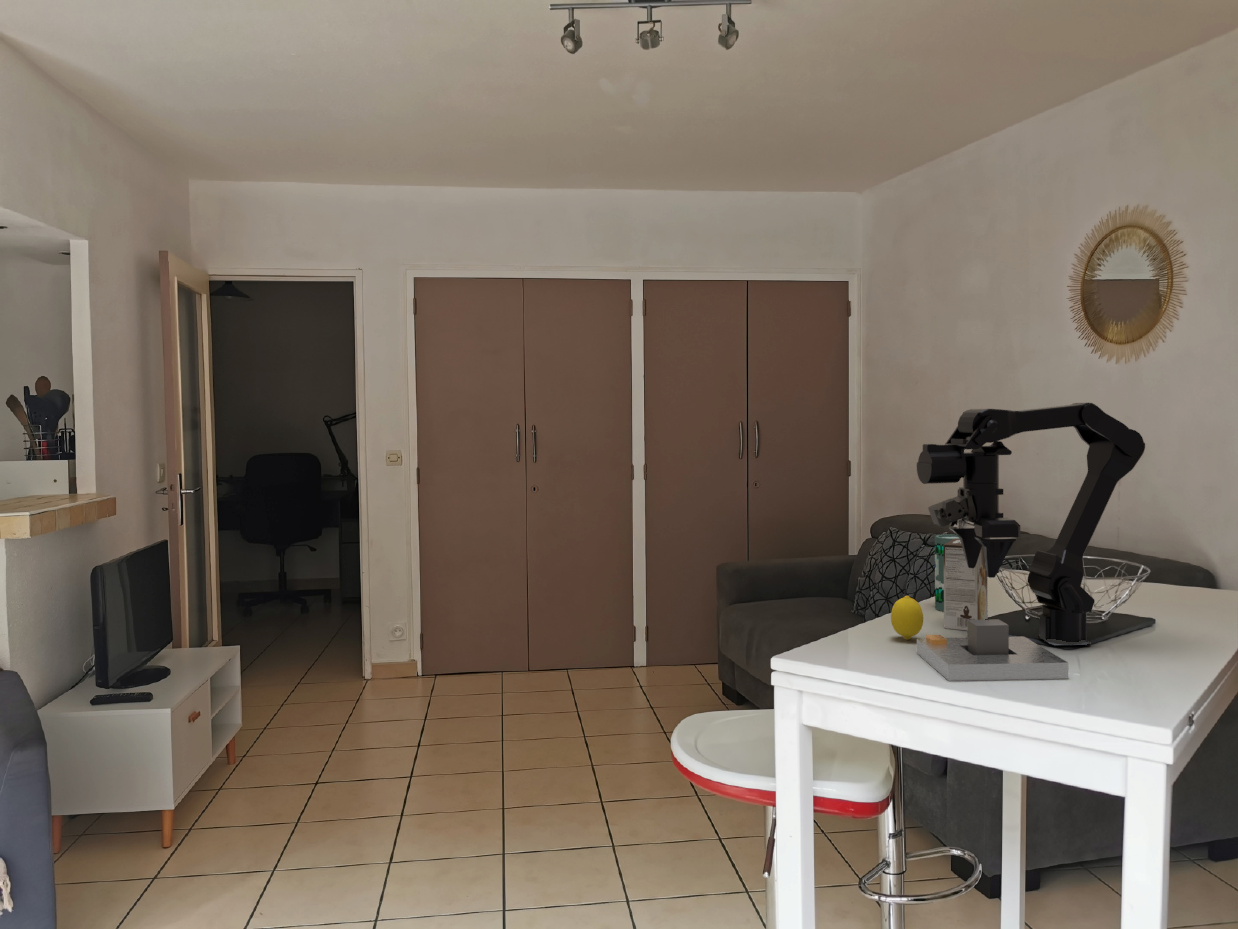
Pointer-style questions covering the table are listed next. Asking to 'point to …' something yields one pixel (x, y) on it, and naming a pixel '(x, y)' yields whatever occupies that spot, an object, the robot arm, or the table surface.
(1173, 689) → the table surface
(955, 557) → the coffee box
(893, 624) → the lemon
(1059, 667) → the socket plate
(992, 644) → the plug
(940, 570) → the can
